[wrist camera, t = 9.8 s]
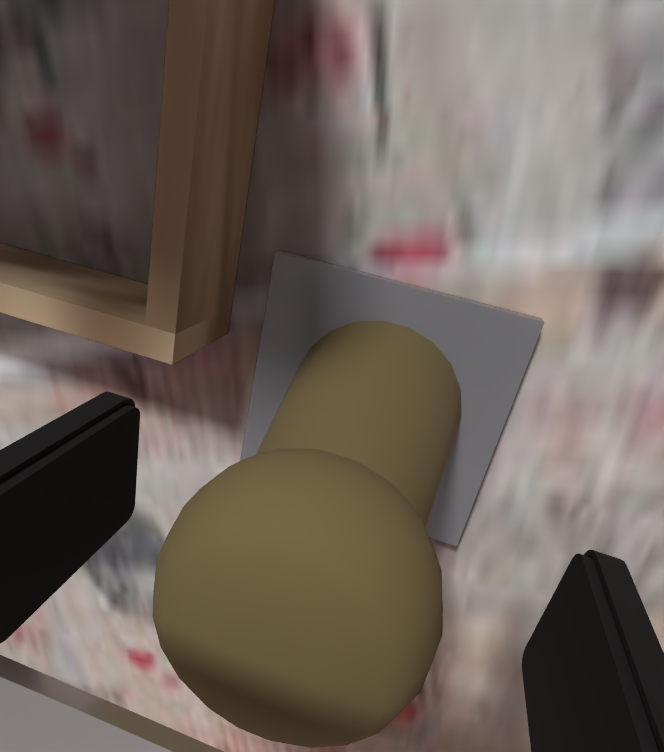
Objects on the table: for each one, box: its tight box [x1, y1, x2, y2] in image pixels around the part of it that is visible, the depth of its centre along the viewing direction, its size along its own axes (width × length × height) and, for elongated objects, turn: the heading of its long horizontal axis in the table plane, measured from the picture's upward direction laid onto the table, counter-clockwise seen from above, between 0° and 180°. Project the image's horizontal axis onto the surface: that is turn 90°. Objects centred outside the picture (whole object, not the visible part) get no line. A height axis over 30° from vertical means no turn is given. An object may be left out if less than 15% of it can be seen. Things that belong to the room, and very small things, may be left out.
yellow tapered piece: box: [153, 320, 461, 747], centre depth 13 cm, size 6×6×11 cm
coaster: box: [240, 251, 544, 547], centre depth 18 cm, size 9×9×1 cm
